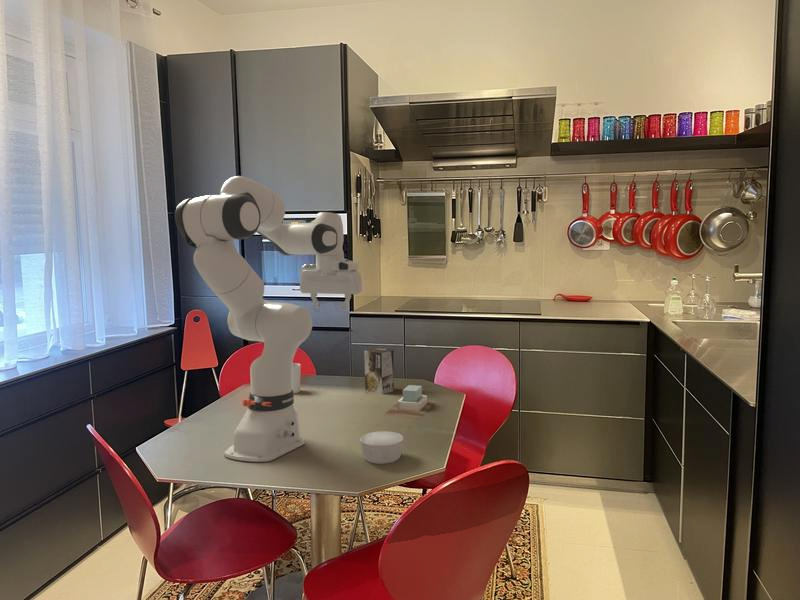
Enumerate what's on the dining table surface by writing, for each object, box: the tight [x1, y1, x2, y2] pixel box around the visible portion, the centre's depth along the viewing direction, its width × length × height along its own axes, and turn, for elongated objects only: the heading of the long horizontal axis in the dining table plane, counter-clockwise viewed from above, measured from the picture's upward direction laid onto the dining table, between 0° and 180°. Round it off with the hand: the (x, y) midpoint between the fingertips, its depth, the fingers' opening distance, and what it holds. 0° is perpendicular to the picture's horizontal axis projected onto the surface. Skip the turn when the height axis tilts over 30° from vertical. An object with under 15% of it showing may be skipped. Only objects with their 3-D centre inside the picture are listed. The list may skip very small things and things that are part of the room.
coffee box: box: [363, 347, 395, 395], centre depth 214 cm, size 9×6×16 cm
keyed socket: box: [396, 394, 429, 411], centre depth 195 cm, size 10×8×2 cm
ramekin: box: [359, 430, 405, 465], centre depth 152 cm, size 11×11×5 cm
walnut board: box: [383, 399, 437, 419], centre depth 193 cm, size 20×12×1 cm, turn 163°
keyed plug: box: [402, 384, 423, 403], centre depth 194 cm, size 4×7×6 cm, turn 163°
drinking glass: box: [292, 362, 301, 394], centre depth 218 cm, size 7×7×10 cm
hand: (330, 307), depth 189 cm, fingers open, 8 cm apart
